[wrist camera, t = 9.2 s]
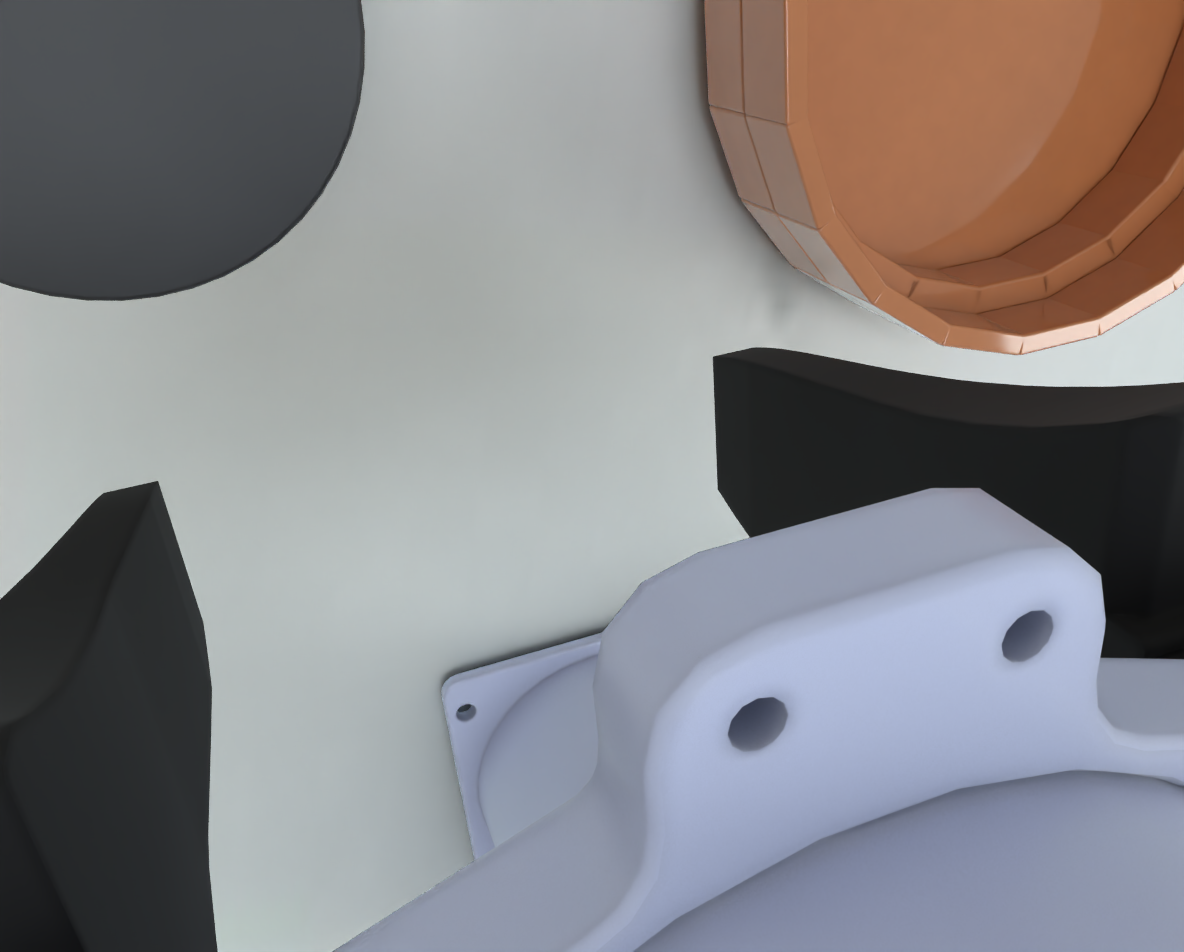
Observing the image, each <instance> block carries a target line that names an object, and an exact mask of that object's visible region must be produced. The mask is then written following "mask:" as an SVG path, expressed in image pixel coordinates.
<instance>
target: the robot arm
mask: <svg viewBox="0 0 1184 952" xmlns="http://www.w3.org/2000/svg"><path fill="white" fill-rule="evenodd" d="M713 372H714V399H715V426H716V453H717V480H718V490H719V492H720V493H721V495H722V497H723V498H724V500H725V501H726V503H727V504H728V506H729V507H730V509H731V511H732V512H733V514H734V515H735V517H736V518H737V520H738V521H739V522H740V524H741V525H742V527H743V528H744V529H745V531H746V532H747V534H748V535H749V537H750V538H748V539H745V540H741V541H737V542H734V543H730V544H727V545H723V546H719V547H716V548H712V549H708V550H705V551H701V552H698V553H696V554H694V555H692V556H690V557H689V558H687V559H685V560H683V561H681V562H679V563H677V564H675V565H673V566H672V567H670V568H668V569H666V570H664V571H662V572H660V573H658V574H656V575H655V576H653V577H651V578H649V579H647V580H645V581H643V582H642V583H641V584H640V585H639V587H638V588H637V589H636V590H635V592H634V593H633V594H632V595H631V597H630V598H629V599H628V600H627V602H626V603H625V604H624V606H623V607H622V608H621V609H620V611H619V612H618V613H617V614H616V616H615V617H614V618H613V620H612V621H611V622H610V623H609V625H608V626H607V627H606V628H605V630H604V631H603V632H602V633H598V634H595V635H591V636H588V637H584V638H581V639H577V640H574V641H570V642H567V643H564V644H560V645H557V646H553V647H550V648H546V649H543V650H539V651H536V652H532V653H529V654H525V655H522V656H518V657H515V658H511V659H508V660H504V661H501V662H497V663H494V664H490V665H487V666H483V667H480V668H476V669H473V670H469V671H466V672H462V673H459V674H456V675H454V676H452V677H450V678H449V679H448V680H447V681H446V682H445V683H444V685H443V687H442V692H441V696H442V701H443V706H444V711H445V716H446V721H447V726H448V731H449V736H450V741H451V746H452V751H453V756H454V761H455V766H456V771H457V776H458V781H459V786H460V791H461V796H462V801H463V806H464V811H465V816H466V821H467V826H468V831H469V836H470V841H471V846H472V851H473V856H474V861H473V862H471V863H470V864H468V865H467V866H465V867H464V868H462V869H460V870H459V871H457V872H456V873H454V874H453V875H451V876H449V877H448V878H446V879H445V880H443V881H442V882H440V883H439V884H437V885H435V886H434V887H432V888H431V889H429V890H428V891H426V892H424V893H423V894H421V895H420V896H418V897H417V898H415V899H414V900H412V901H410V902H409V903H407V904H406V905H404V906H403V907H401V908H399V909H398V910H396V911H395V912H393V913H392V914H390V915H389V916H387V917H385V918H384V919H382V920H381V921H379V922H378V923H376V924H374V925H373V926H371V927H370V928H368V929H367V930H365V931H364V932H362V933H360V934H359V935H357V936H356V937H354V938H353V939H351V940H349V941H348V942H346V943H345V944H343V945H342V946H340V947H339V948H337V949H335V950H334V951H332V952H1184V382H1181V383H1168V384H1155V385H1140V386H1115V387H1045V386H1022V385H1009V384H996V383H983V382H972V381H964V380H955V379H948V378H941V377H935V376H928V375H921V374H915V373H908V372H903V371H897V370H891V369H886V368H881V367H875V366H870V365H865V364H860V363H855V362H850V361H845V360H840V359H835V358H830V357H824V356H819V355H814V354H809V353H803V352H797V351H791V350H784V349H776V348H749V349H745V350H741V351H736V352H732V353H727V354H723V355H718V356H714V357H713ZM465 704H471V705H472V706H471V707H470V709H469V710H467V711H465V712H458V711H457V710H458V709H459V708H460V707H461V706H463V705H465ZM211 709H212V686H211V677H210V669H209V661H208V653H207V646H206V639H205V631H204V624H203V620H202V617H201V614H200V611H199V608H198V605H197V602H196V599H195V595H194V592H193V589H192V586H191V583H190V580H189V577H188V574H187V570H186V567H185V564H184V561H183V558H182V555H181V552H180V548H179V545H178V542H177V539H176V536H175V533H174V530H173V527H172V523H171V520H170V517H169V514H168V511H167V508H166V505H165V502H164V498H163V495H162V492H161V489H160V486H159V483H158V481H156V482H151V483H147V484H142V485H138V486H133V487H129V488H124V489H120V490H115V491H111V492H106V493H103V494H102V495H101V496H100V497H98V498H97V499H96V500H95V501H94V502H93V503H92V504H91V505H90V506H89V508H88V509H87V510H86V511H85V512H84V513H83V514H82V515H81V516H80V517H79V519H78V520H77V521H76V522H75V523H74V524H73V525H72V526H71V528H70V529H69V530H68V531H67V532H66V533H65V534H64V535H63V536H62V538H61V539H60V540H59V541H58V542H57V543H56V544H55V545H54V546H53V547H52V548H51V549H50V551H49V552H48V553H47V554H46V555H45V556H44V557H43V558H42V559H41V560H40V561H39V562H38V564H37V565H36V566H35V567H34V568H33V569H32V570H31V571H30V572H29V573H27V574H26V575H25V576H24V577H23V578H22V579H21V580H20V581H19V582H18V583H17V584H16V585H15V586H14V587H13V588H12V589H11V590H10V591H9V592H8V593H7V594H6V595H5V596H4V597H2V598H1V599H0V952H217V943H216V933H215V923H214V913H213V903H212V893H211V882H210V872H209V846H208V823H209V788H210V752H211Z"/></svg>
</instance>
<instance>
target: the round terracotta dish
mask: <svg viewBox="0 0 1184 952" xmlns="http://www.w3.org/2000/svg"><path fill="white" fill-rule="evenodd" d="M704 8H705V32H706V56H707V80H708V102H709V105H711V106H710V107H709V109H710V112H711V115H712V118H713V121H714V124H715V127H716V130H717V133H718V136H719V139H720V142H721V145H722V148H723V151H724V154H725V157H726V159H727V162H728V165H729V168H730V171H731V174H732V177H733V180H734V183H735V186H736V189H737V192H738V195H739V197H740V198H741V201H742V203H743V204H744V205H745V207H746V208H747V209H748V210H749V212H750V213H751V214H752V216H753V217H754V218H755V220H756V221H757V222H758V223H759V225H760V226H761V227H762V229H763V230H764V231H765V232H766V234H767V235H768V236H769V238H770V239H771V240H772V241H773V243H774V244H775V245H776V247H777V248H778V249H779V250H780V252H781V253H782V254H783V256H784V257H785V258H786V259H787V261H788V262H789V263H790V265H792V266H793V267H794V268H795V269H797V270H799V271H800V272H802V273H804V274H805V275H807V276H809V277H811V278H812V279H814V280H816V281H817V282H819V283H821V284H822V285H824V286H826V287H827V288H829V289H831V290H833V291H834V292H836V293H838V294H839V295H841V296H843V297H844V298H846V299H848V300H850V301H851V302H853V303H855V304H857V305H859V306H861V307H863V308H865V309H867V310H869V311H871V312H873V313H875V314H877V315H879V316H881V317H883V318H885V319H887V320H889V321H891V322H894V323H896V324H898V325H900V326H902V327H904V328H906V329H908V330H910V331H912V332H914V333H916V334H918V335H920V336H922V337H924V338H926V339H928V340H930V341H932V342H934V343H936V344H939V345H942V346H947V347H955V348H963V349H971V350H979V351H986V352H994V353H1002V354H1010V355H1023V354H1027V353H1031V352H1035V351H1039V350H1043V349H1048V348H1052V347H1056V346H1060V345H1064V344H1068V343H1072V342H1077V341H1081V340H1085V339H1089V338H1093V337H1097V336H1098V335H1102V334H1103V333H1105V332H1107V331H1108V330H1110V329H1112V328H1113V327H1115V326H1117V325H1119V324H1120V323H1122V322H1124V321H1125V320H1127V319H1129V318H1130V317H1132V316H1134V315H1136V314H1137V313H1139V312H1141V311H1142V310H1144V309H1146V308H1147V307H1149V306H1151V305H1153V304H1154V303H1156V302H1158V301H1159V300H1161V299H1163V298H1164V297H1166V296H1168V295H1170V294H1171V293H1173V292H1174V291H1175V290H1177V289H1178V288H1179V287H1180V286H1181V285H1182V284H1183V283H1184V0H704Z"/></svg>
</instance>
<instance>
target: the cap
mask: <svg viewBox="0 0 1184 952" xmlns="http://www.w3.org/2000/svg"><path fill="white" fill-rule="evenodd" d="M364 53H365V30H364V22H363V13H362V5H361V0H0V283H3V284H6V285H9V286H11V287H15V288H19V289H23V290H28V291H32V292H36V293H40V294H44V295H49V296H55V297H64V298H72V299H80V300H102V301H125V300H134V299H142V298H151V297H160V296H164V295H168V294H172V293H176V292H180V291H184V290H188V289H192V288H195V287H198V286H200V285H203V284H206V283H208V282H211V281H213V280H216V279H219V278H221V277H224V276H226V275H228V274H229V273H231V272H233V271H235V270H237V269H239V268H240V267H242V266H244V265H246V264H248V263H250V262H251V261H253V260H255V259H256V258H257V257H259V256H260V255H261V254H263V253H264V252H265V251H267V250H268V249H270V248H271V247H272V246H274V245H275V244H276V243H278V242H279V241H280V240H281V239H282V238H283V237H284V236H285V235H286V234H287V233H288V232H289V231H290V230H291V229H293V228H294V227H295V226H296V225H297V224H298V223H299V222H300V221H301V220H302V219H303V217H304V216H305V215H306V214H307V212H308V211H309V210H310V209H311V207H312V206H313V205H314V203H315V202H316V201H317V200H318V198H319V197H320V196H321V194H322V193H323V191H324V190H325V188H326V186H327V184H328V183H329V181H330V179H331V178H332V176H333V174H334V172H335V171H336V169H337V167H338V166H339V163H340V161H341V158H342V156H343V153H344V151H345V149H346V146H347V144H348V141H349V139H350V137H351V134H352V130H353V126H354V122H355V119H356V115H357V111H358V107H359V104H360V97H361V90H362V82H363V75H364Z"/></svg>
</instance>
